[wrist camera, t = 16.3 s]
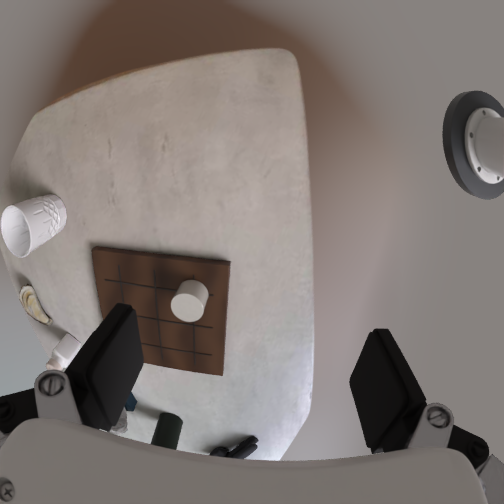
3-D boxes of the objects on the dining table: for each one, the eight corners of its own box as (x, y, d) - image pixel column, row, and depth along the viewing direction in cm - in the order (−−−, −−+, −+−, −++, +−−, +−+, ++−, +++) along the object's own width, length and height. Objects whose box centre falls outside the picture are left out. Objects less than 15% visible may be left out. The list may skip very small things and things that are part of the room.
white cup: (48, 240, 40) (13, 263, 30) (33, 200, 37) (-5, 216, 28) (76, 227, 39) (38, 249, 29) (60, 183, 36) (19, 196, 27)
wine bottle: (167, 425, 57) (140, 527, 29) (155, 413, 55) (122, 519, 27) (187, 425, 56) (163, 532, 28) (175, 412, 54) (146, 525, 27)
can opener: (226, 459, 63) (225, 475, 58) (206, 451, 62) (203, 467, 56) (268, 439, 58) (268, 458, 52) (246, 431, 56) (244, 450, 51)
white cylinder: (209, 281, 39) (203, 295, 36) (208, 308, 41) (203, 324, 37) (177, 277, 39) (169, 291, 36) (178, 304, 41) (171, 319, 37)
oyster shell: (56, 300, 50) (22, 278, 42) (61, 305, 48) (24, 283, 40) (46, 322, 47) (10, 302, 40) (50, 329, 45) (13, 309, 38)
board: (230, 261, 40) (229, 266, 38) (223, 370, 48) (222, 376, 47) (95, 246, 40) (90, 249, 38) (114, 350, 48) (111, 355, 46)
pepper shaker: (67, 331, 47) (45, 359, 38) (82, 342, 48) (61, 372, 39) (64, 340, 48) (43, 368, 40) (78, 352, 49) (58, 380, 40)
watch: (121, 404, 55) (106, 437, 45) (107, 382, 52) (89, 417, 42) (140, 406, 55) (126, 442, 45) (127, 385, 52) (110, 422, 42)
